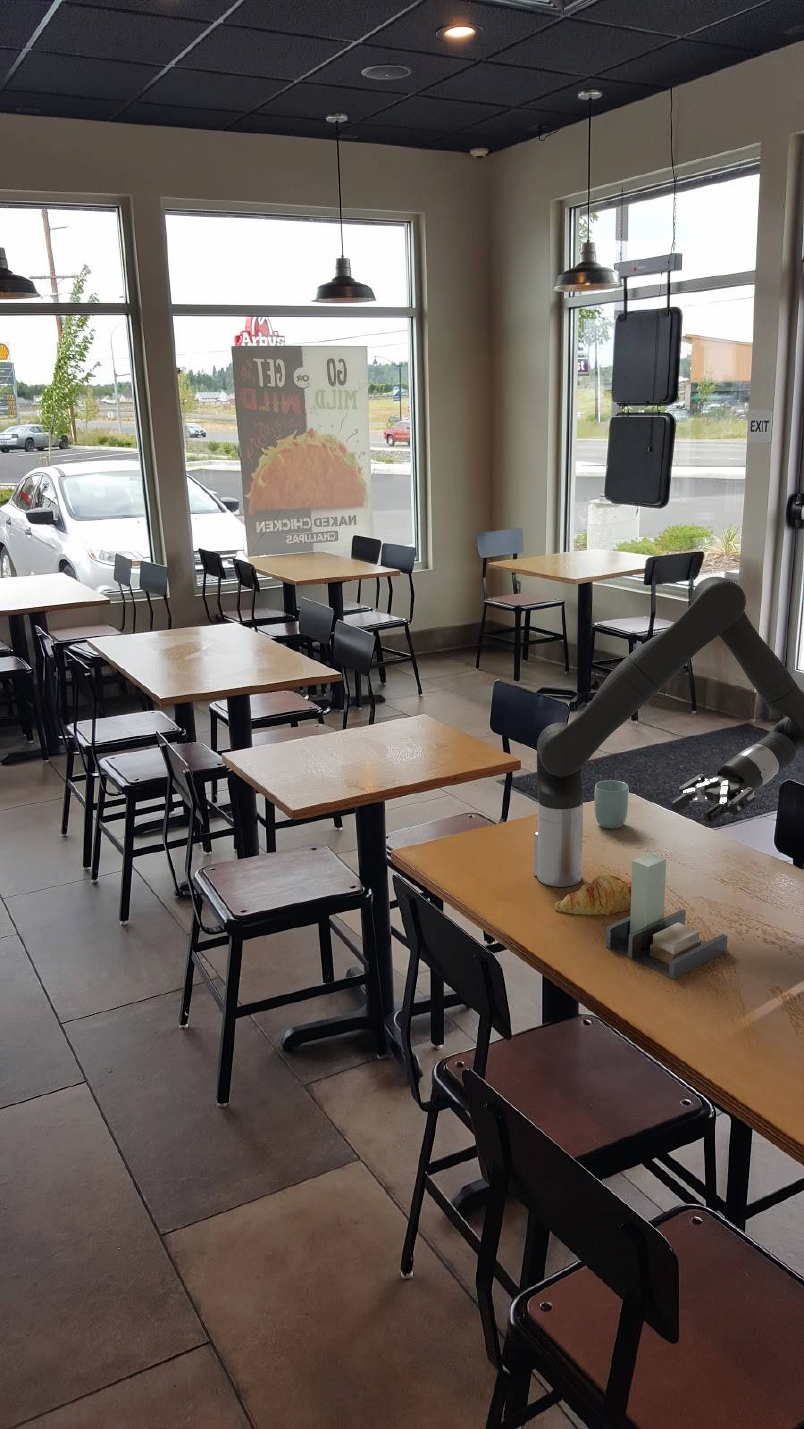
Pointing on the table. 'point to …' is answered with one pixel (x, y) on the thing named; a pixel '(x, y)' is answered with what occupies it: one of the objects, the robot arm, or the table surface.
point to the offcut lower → (668, 956)
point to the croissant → (598, 897)
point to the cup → (611, 803)
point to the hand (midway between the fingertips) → (689, 813)
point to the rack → (640, 942)
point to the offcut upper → (676, 938)
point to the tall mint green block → (647, 891)
